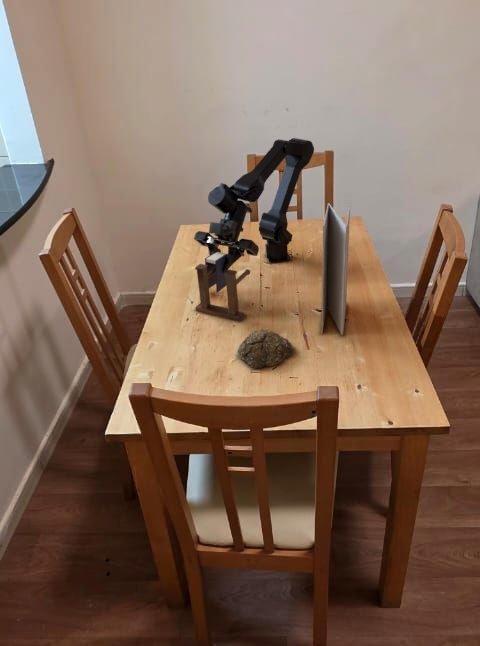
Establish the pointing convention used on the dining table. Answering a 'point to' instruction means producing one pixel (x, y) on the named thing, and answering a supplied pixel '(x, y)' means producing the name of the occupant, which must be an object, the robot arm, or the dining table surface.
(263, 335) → the grey brown rock
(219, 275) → the book
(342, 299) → the brochure
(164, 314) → the dining table surface
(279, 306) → the dining table surface
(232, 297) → the peg stand
